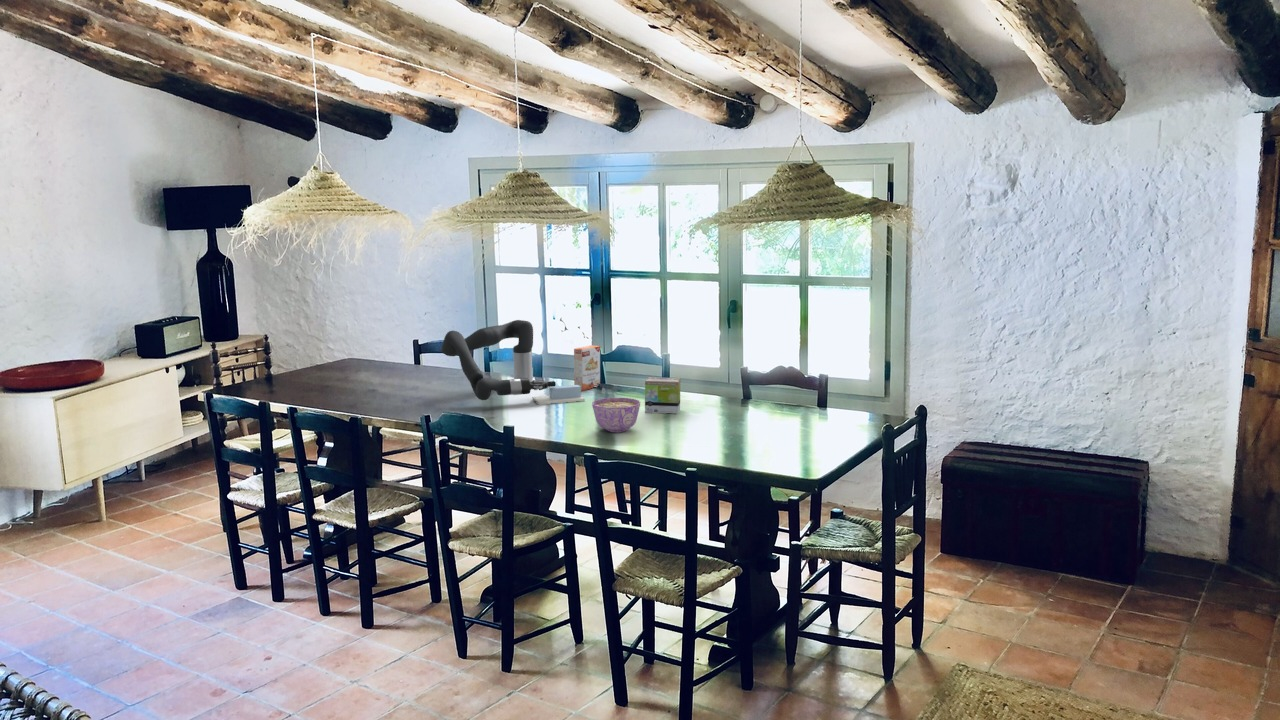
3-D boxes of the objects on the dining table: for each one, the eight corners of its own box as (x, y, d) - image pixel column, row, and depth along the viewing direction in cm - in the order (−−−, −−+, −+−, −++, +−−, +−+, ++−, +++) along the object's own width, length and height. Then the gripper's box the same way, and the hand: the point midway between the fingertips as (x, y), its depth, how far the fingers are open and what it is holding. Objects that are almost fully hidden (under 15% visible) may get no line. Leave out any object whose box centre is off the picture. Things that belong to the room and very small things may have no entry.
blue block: (549, 386, 466) (577, 384, 470) (549, 397, 467) (578, 395, 471) (551, 388, 461) (580, 386, 466) (552, 399, 462) (581, 397, 467)
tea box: (644, 413, 436) (644, 380, 434) (647, 408, 446) (647, 376, 443) (678, 414, 434) (678, 381, 431) (680, 409, 444) (680, 377, 441)
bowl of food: (636, 436, 395) (636, 408, 393) (587, 435, 399) (587, 407, 397) (644, 425, 415) (644, 398, 413) (597, 423, 418) (597, 396, 416)
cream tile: (532, 399, 468) (532, 396, 468) (577, 395, 475) (576, 393, 475) (538, 404, 456) (538, 402, 456) (584, 401, 463) (584, 398, 463)
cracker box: (583, 391, 486) (582, 349, 482) (573, 390, 489) (572, 348, 486) (601, 386, 497) (600, 345, 493) (592, 385, 500) (591, 344, 497)
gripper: (516, 391, 465) (551, 388, 470) (522, 397, 452) (559, 394, 458) (515, 376, 463) (551, 373, 469) (521, 381, 451) (558, 378, 457)
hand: (555, 383), depth 464 cm, fingers closed
